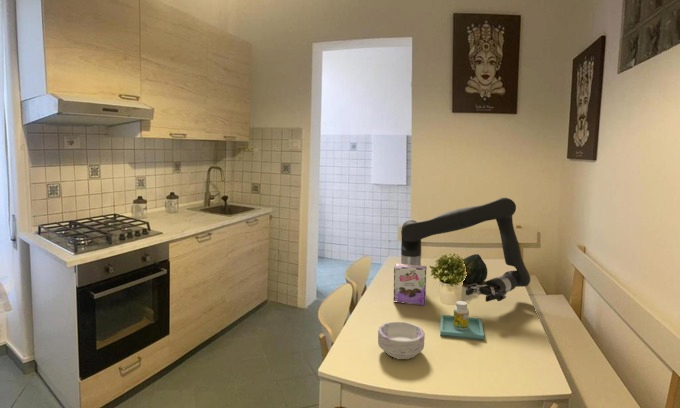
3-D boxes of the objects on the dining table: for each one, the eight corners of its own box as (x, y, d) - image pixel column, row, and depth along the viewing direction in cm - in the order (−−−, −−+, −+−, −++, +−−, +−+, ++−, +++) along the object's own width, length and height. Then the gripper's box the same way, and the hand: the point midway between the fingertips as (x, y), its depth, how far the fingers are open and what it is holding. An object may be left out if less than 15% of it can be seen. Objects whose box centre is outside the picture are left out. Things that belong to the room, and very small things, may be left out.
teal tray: (440, 335, 148) (440, 331, 147) (440, 319, 162) (440, 314, 162) (483, 340, 144) (484, 335, 144) (480, 322, 158) (480, 318, 158)
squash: (446, 269, 208) (465, 251, 200) (462, 265, 218) (480, 247, 210) (464, 293, 201) (484, 275, 193) (479, 287, 211) (499, 270, 203)
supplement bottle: (471, 328, 152) (472, 304, 150) (460, 331, 149) (461, 306, 148) (461, 323, 157) (462, 299, 155) (450, 325, 154) (451, 301, 153)
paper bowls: (432, 360, 131) (433, 337, 130) (388, 368, 126) (389, 344, 125) (411, 339, 145) (411, 318, 144) (371, 345, 141) (371, 323, 140)
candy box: (393, 302, 179) (393, 266, 177) (395, 298, 185) (395, 262, 183) (425, 305, 176) (425, 268, 173) (426, 300, 181) (426, 265, 179)
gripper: (482, 273, 174) (460, 282, 164) (515, 282, 163) (493, 291, 153) (481, 290, 175) (460, 299, 165) (513, 300, 164) (492, 310, 154)
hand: (476, 295), depth 159 cm, fingers open, 8 cm apart
